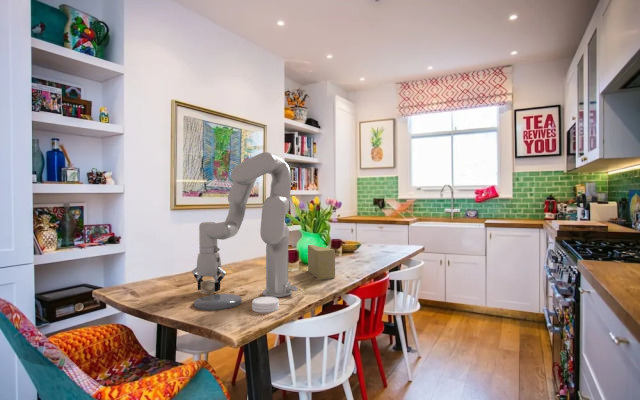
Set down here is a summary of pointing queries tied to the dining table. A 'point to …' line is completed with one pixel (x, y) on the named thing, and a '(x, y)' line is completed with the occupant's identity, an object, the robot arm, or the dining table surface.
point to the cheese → (321, 262)
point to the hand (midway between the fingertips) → (208, 289)
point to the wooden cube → (208, 287)
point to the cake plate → (217, 302)
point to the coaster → (265, 304)
